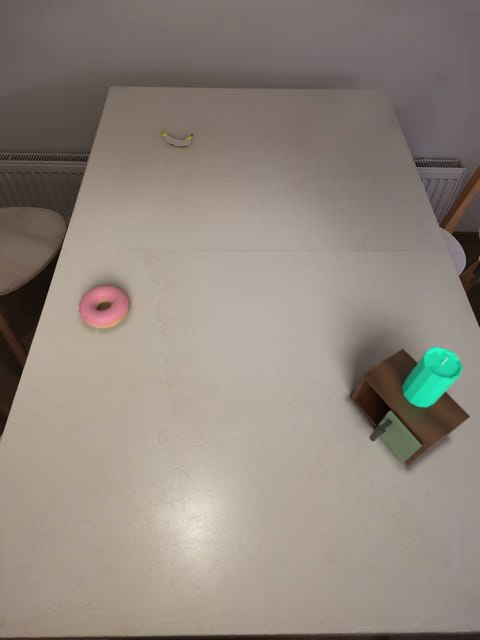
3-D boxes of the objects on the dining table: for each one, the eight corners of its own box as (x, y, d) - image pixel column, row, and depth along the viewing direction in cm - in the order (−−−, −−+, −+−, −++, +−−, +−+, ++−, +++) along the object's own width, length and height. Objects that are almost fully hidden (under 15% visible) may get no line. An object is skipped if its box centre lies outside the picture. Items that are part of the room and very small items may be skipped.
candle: (435, 412, 74) (467, 380, 64) (400, 401, 75) (425, 368, 65) (438, 382, 77) (468, 347, 67) (404, 372, 78) (429, 336, 68)
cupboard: (386, 374, 90) (403, 348, 81) (445, 437, 82) (470, 416, 73) (350, 398, 86) (363, 373, 78) (407, 466, 79) (429, 447, 70)
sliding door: (376, 429, 82) (390, 410, 75) (404, 462, 79) (422, 445, 71) (361, 439, 81) (374, 421, 73) (388, 473, 78) (405, 457, 70)
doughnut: (128, 330, 95) (124, 319, 91) (78, 332, 94) (72, 322, 91) (132, 291, 101) (128, 280, 98) (84, 293, 101) (79, 282, 97)
